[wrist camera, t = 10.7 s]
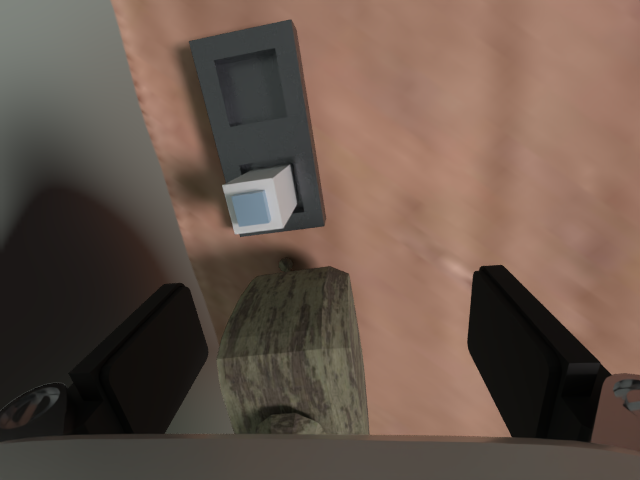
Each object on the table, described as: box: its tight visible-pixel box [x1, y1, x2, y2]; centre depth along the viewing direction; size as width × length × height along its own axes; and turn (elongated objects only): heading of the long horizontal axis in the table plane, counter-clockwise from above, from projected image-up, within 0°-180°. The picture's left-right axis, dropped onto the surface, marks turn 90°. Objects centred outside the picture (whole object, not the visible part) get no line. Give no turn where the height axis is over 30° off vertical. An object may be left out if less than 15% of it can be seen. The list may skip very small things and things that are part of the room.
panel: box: [189, 20, 326, 237], centre depth 30 cm, size 18×9×3 cm, turn 9°
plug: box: [222, 163, 299, 234], centre depth 28 cm, size 4×4×10 cm
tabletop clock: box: [216, 258, 370, 435], centre depth 26 cm, size 14×9×25 cm, turn 10°
